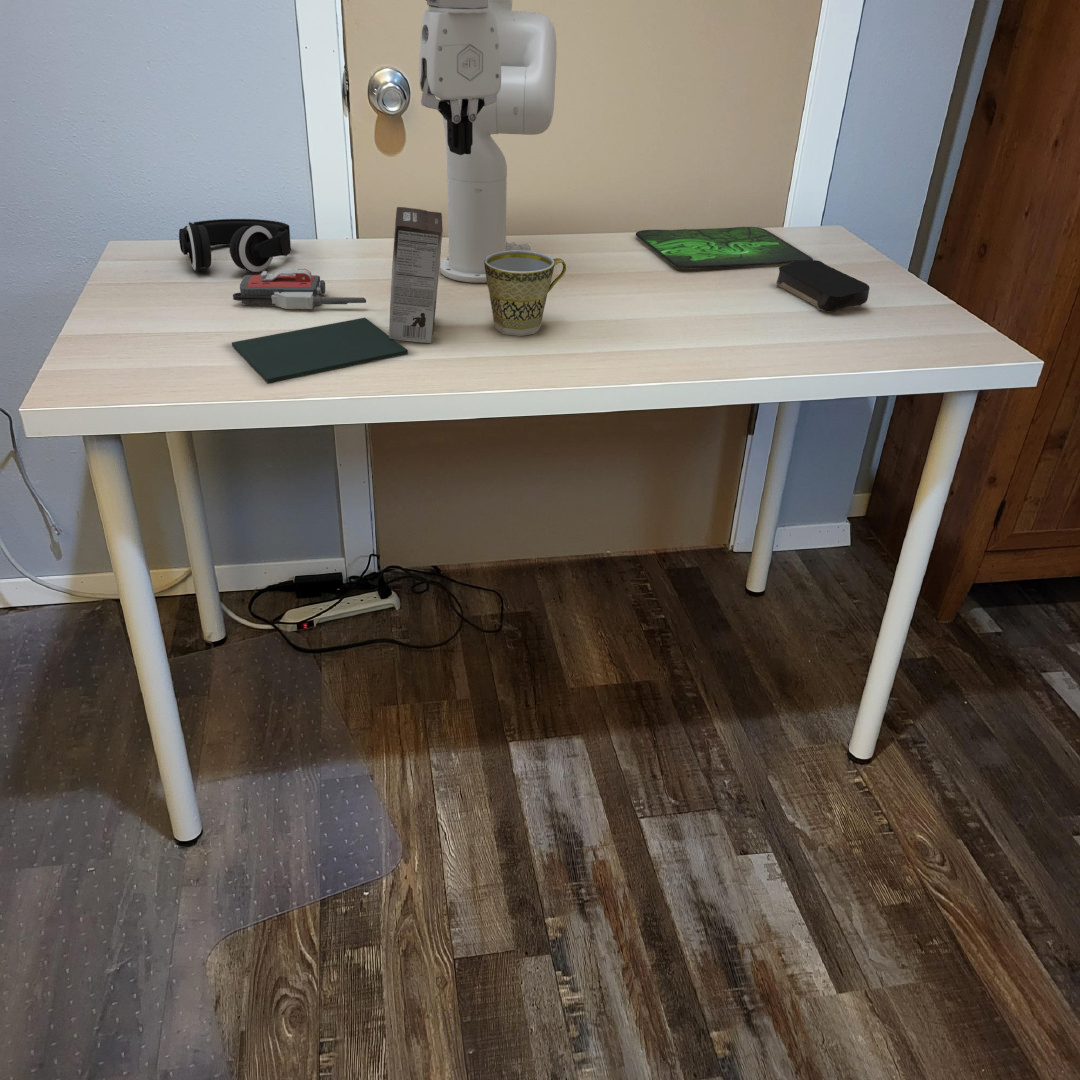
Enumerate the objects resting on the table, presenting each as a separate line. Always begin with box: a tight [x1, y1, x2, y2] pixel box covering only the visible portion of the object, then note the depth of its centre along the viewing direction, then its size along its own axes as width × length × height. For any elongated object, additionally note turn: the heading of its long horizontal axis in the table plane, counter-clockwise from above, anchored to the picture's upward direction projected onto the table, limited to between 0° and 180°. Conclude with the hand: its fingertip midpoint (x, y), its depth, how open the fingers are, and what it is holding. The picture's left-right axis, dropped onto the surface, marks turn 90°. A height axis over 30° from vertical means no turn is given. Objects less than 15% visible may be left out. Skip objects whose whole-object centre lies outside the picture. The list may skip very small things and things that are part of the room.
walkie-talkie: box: [232, 268, 367, 310], centre depth 149 cm, size 9×4×20 cm
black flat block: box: [776, 259, 871, 313], centre depth 159 cm, size 16×8×4 cm, turn 22°
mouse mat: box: [635, 226, 814, 269], centre depth 179 cm, size 27×22×1 cm
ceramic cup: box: [484, 250, 567, 337], centre depth 142 cm, size 13×10×10 cm
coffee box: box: [388, 206, 444, 344], centre depth 137 cm, size 9×6×16 cm
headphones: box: [178, 218, 292, 274], centre depth 164 cm, size 18×8×20 cm
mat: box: [231, 317, 409, 384], centre depth 135 cm, size 20×14×1 cm
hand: (460, 152), depth 132 cm, fingers closed
